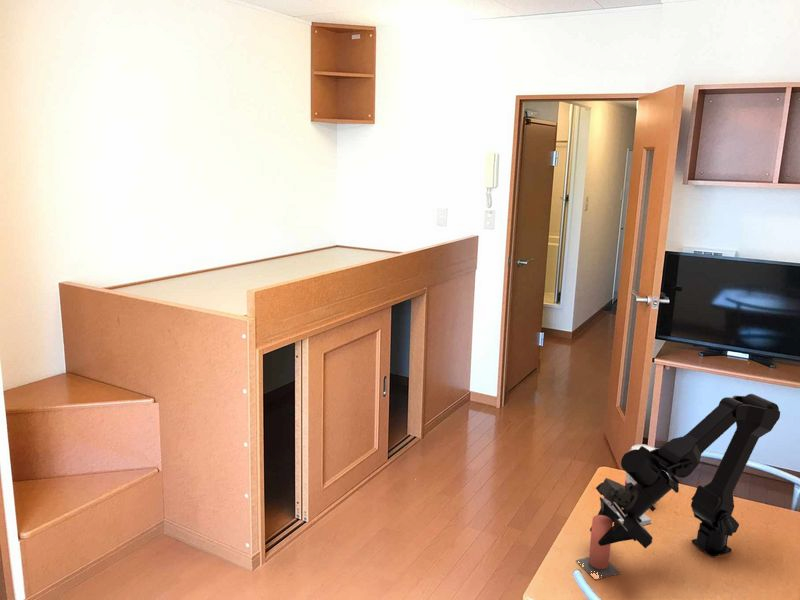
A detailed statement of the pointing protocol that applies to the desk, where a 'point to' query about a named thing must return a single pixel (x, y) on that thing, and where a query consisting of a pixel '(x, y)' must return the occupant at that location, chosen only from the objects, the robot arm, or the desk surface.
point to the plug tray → (644, 518)
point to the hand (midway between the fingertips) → (595, 537)
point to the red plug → (599, 529)
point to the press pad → (604, 572)
